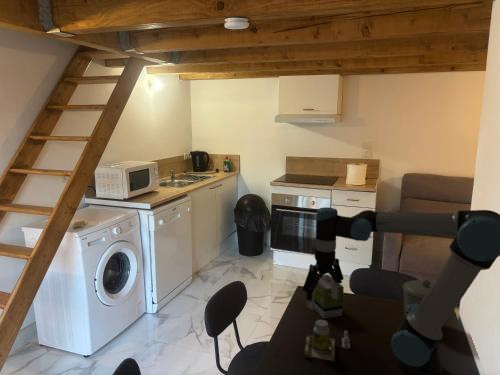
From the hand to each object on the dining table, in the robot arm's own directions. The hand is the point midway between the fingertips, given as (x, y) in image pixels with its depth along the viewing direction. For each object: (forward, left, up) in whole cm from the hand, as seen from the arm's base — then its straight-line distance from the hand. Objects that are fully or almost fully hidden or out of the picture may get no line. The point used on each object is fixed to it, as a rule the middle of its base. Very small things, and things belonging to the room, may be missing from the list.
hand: (322, 303), depth 142 cm
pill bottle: (0, 0, -19) cm, 19 cm away
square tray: (0, 0, -20) cm, 20 cm away
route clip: (-3, -12, -20) cm, 23 cm away
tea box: (+21, -27, -20) cm, 40 cm away
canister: (-13, -52, -20) cm, 57 cm away
